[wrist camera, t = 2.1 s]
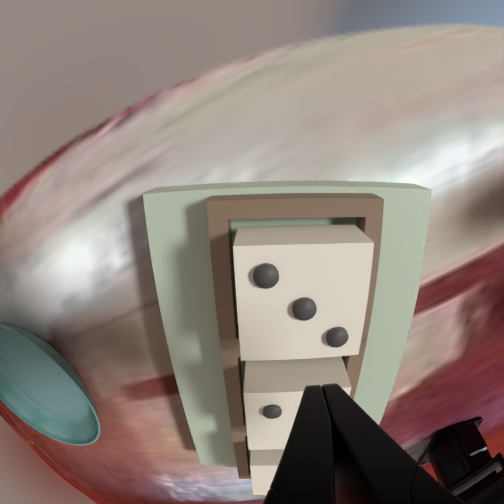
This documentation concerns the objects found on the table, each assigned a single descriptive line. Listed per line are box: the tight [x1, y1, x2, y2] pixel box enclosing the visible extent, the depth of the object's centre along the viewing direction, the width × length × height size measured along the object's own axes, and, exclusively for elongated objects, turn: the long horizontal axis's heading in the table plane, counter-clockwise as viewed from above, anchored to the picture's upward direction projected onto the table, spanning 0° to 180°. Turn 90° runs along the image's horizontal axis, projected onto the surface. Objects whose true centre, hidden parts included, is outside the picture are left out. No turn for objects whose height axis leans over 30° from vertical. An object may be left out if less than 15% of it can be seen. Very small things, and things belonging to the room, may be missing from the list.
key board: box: [143, 181, 431, 479], centre depth 17 cm, size 22×14×3 cm, turn 2°
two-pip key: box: [244, 356, 351, 450], centre depth 15 cm, size 5×5×3 cm
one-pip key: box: [250, 449, 284, 495], centre depth 17 cm, size 5×5×3 cm
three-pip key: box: [233, 225, 374, 361], centre depth 12 cm, size 5×5×3 cm
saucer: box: [0, 322, 101, 446], centre depth 20 cm, size 15×15×3 cm
